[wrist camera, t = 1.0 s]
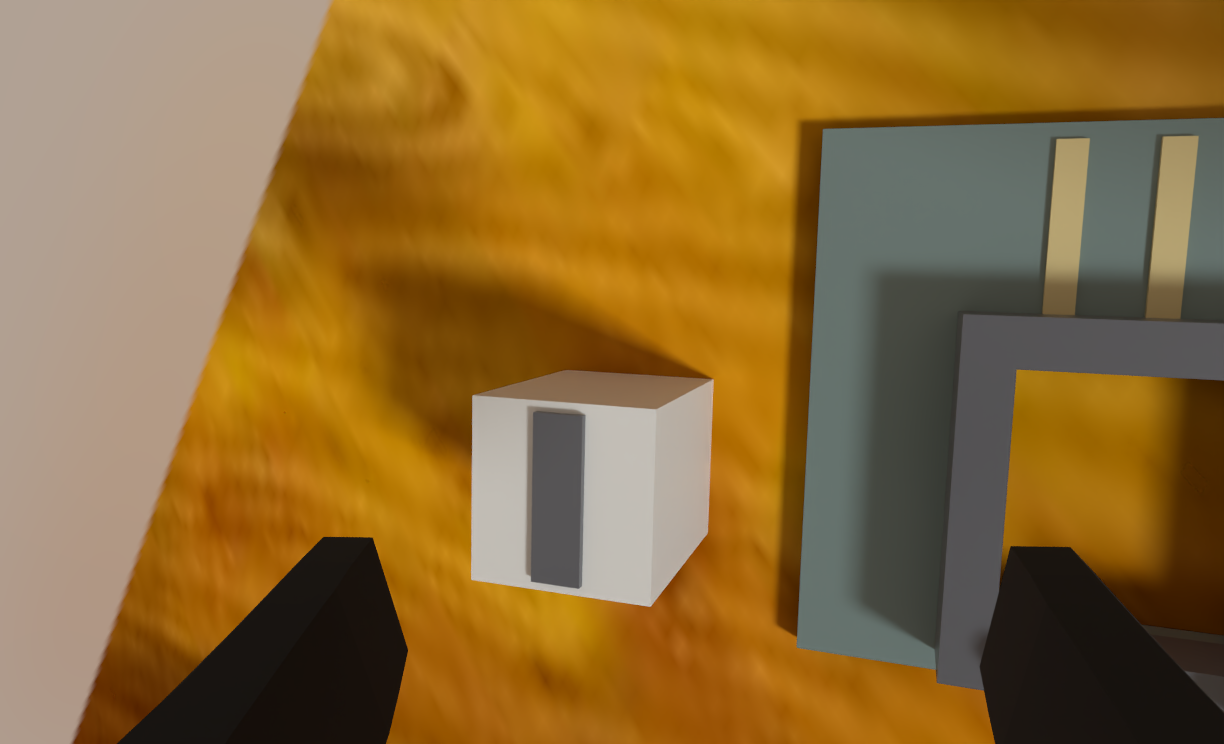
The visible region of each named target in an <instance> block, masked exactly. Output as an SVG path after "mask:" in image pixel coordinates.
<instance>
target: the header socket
mask: <svg viewBox="0 0 1224 744" xmlns="http://www.w3.org/2000/svg"><path fill="white" fill-rule="evenodd" d="M1016 369H1020V370H1039V371H1057V372H1076V373H1095V374H1113V375H1132V376H1151V377H1169V378H1188V379H1206V380H1224V118H1201V119H1165V120H1129V121H1093V122H1057V123H1021V124H985V125H949V126H913V127H877V128H841V129H823V139H822V158H821V178H820V198H819V217H818V237H817V257H816V276H815V296H814V316H813V335H812V355H811V375H810V395H809V414H808V434H807V454H806V473H805V493H804V513H803V532H802V552H801V572H800V591H799V611H798V631H797V648H802V649H808V650H815V651H821V652H827V653H834V654H840V655H847V656H853V657H859V658H866V659H872V660H878V661H885V662H891V663H897V664H904V665H910V666H916V667H923V668H929V669H935V670H936V676H937V683H941V684H947V685H953V686H959V687H965V688H971V689H978V690H984V687H983V682H982V677H981V672H980V667H979V666H980V663H981V659H982V655H983V651H984V647H985V643H986V640H987V636H988V632H989V628H990V624H991V620H992V617H993V613H994V609H995V605H996V601H997V597H998V594H999V583H1000V571H1001V558H1002V545H1003V533H1004V520H1005V508H1006V495H1007V482H1008V470H1009V457H1010V445H1011V432H1012V419H1013V407H1014V394H1015V381H1016ZM1142 626H1143V627H1144V628H1145V629H1146V630H1147V631H1148V632H1149V633H1150V634H1151V636H1152V637H1153V638H1154V639H1155V640H1156V641H1157V642H1158V643H1159V644H1160V645H1161V646H1162V647H1163V648H1164V650H1165V651H1166V652H1167V653H1168V654H1169V655H1170V656H1171V657H1172V658H1173V659H1174V660H1175V661H1176V662H1177V664H1178V665H1179V666H1180V667H1181V668H1182V669H1183V670H1184V671H1185V672H1186V673H1187V674H1188V675H1189V676H1190V677H1191V678H1192V679H1193V680H1194V681H1195V683H1196V684H1197V685H1198V686H1199V687H1200V688H1201V689H1202V690H1203V691H1204V692H1205V693H1206V694H1207V695H1208V696H1209V697H1210V698H1211V699H1212V700H1213V701H1214V702H1215V703H1216V704H1217V705H1218V706H1219V707H1220V708H1221V709H1222V710H1223V711H1224V636H1223V635H1216V634H1208V633H1200V632H1193V631H1185V630H1178V629H1170V628H1163V627H1155V626H1148V625H1142Z"/></svg>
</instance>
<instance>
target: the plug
mask: <svg viewBox="0 0 1224 744" xmlns="http://www.w3.org/2000/svg"><path fill="white" fill-rule="evenodd" d="M713 380H714V379H702V378H687V377H671V376H655V375H639V374H624V373H608V372H592V371H576V370H564V371H560V372H556V373H553V374H549V375H545V376H542V377H538V378H534V379H531V380H527V381H523V382H520V383H516V384H512V385H509V386H505V387H501V388H498V389H494V390H490V391H487V392H483V393H479V394H475V395H472V564H471V580H477V581H483V582H490V583H497V584H503V585H510V586H516V587H523V588H530V589H536V590H543V591H549V592H556V593H563V594H569V595H576V596H583V597H589V598H596V599H602V600H609V601H616V602H622V603H629V604H635V605H642V606H649V607H651V605H652V604H653V603H654V602H655V600H656V599H657V598H658V596H659V595H660V594H661V593H662V591H663V590H664V589H665V587H666V586H667V585H668V584H669V582H670V581H671V580H672V578H673V577H674V576H675V574H676V573H677V572H678V571H679V569H680V568H681V567H682V565H683V564H684V563H685V562H686V560H687V559H688V558H689V556H690V555H691V554H692V553H693V551H694V550H695V549H696V547H697V546H698V545H699V544H700V542H701V541H702V540H703V538H704V537H705V536H706V535H707V533H708V513H709V487H710V460H711V433H712V407H713Z"/></svg>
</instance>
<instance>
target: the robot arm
mask: <svg viewBox="0 0 1224 744" xmlns="http://www.w3.org/2000/svg"><path fill="white" fill-rule="evenodd" d="M407 653H408V649H407V645H406V642H405V639H404V636H403V633H402V630H401V626H400V623H399V620H398V617H397V614H396V610H395V607H394V604H393V601H392V598H391V595H390V591H389V588H388V585H387V582H386V579H385V576H384V572H383V569H382V566H381V563H380V560H379V556H378V553H377V550H376V547H375V544H374V541H373V538H364V537H323V538H322V539H321V540H320V541H319V542H318V543H317V544H316V545H315V546H314V547H313V548H312V549H311V550H310V551H309V552H308V553H307V554H306V555H305V556H304V557H303V558H302V559H301V560H300V561H299V562H298V563H297V564H296V565H295V566H294V567H293V568H292V570H291V571H290V572H289V573H288V574H287V575H286V576H285V577H284V578H283V579H282V580H281V581H280V582H279V583H278V584H277V585H276V586H275V587H274V588H273V589H272V590H271V591H270V592H269V594H268V595H267V596H266V597H265V598H264V599H263V600H262V601H261V602H260V603H259V604H258V605H257V606H256V607H255V608H254V609H253V610H252V611H251V612H250V613H249V614H248V615H247V616H246V617H245V618H244V620H243V621H242V622H241V623H240V624H239V625H238V626H237V627H236V628H235V629H234V630H233V631H232V632H231V633H230V634H229V635H228V636H227V637H226V638H225V639H224V640H223V641H222V642H221V643H220V644H219V645H218V646H217V647H216V648H215V649H214V650H213V651H212V652H211V653H210V654H209V655H208V656H207V657H206V658H205V659H204V660H203V661H202V662H201V663H200V664H199V665H198V666H197V667H196V668H195V669H194V670H193V671H192V672H191V673H190V674H189V675H188V676H187V677H186V678H185V679H184V680H183V681H182V682H181V683H180V684H179V685H178V686H177V687H176V688H175V689H174V690H173V691H172V692H171V693H170V694H169V695H168V696H167V697H166V698H165V699H164V700H163V701H162V702H161V703H160V704H159V705H158V706H157V707H156V708H155V709H154V710H152V711H151V712H150V713H149V714H148V715H147V716H146V717H145V718H144V719H143V720H142V721H141V722H140V723H139V724H137V725H136V726H135V727H134V728H133V729H132V730H131V731H130V732H129V733H128V734H127V735H126V736H125V737H124V738H122V739H121V740H120V741H119V742H118V743H117V744H386V741H387V738H388V735H389V732H390V728H391V724H392V719H393V715H394V711H395V707H396V703H397V699H398V694H399V690H400V685H401V681H402V676H403V671H404V667H405V662H406V657H407ZM979 667H980V672H981V677H982V682H983V687H984V692H985V697H986V702H987V707H988V712H989V717H990V722H991V726H992V731H993V735H994V740H995V744H1224V711H1223V710H1222V709H1221V708H1220V707H1219V706H1218V705H1217V704H1216V703H1215V702H1214V701H1213V700H1212V699H1211V698H1210V697H1209V696H1208V695H1207V694H1206V693H1205V692H1204V691H1203V690H1202V689H1201V688H1200V687H1199V686H1198V685H1197V684H1196V683H1195V681H1194V680H1193V679H1192V678H1191V677H1190V676H1189V675H1188V674H1187V673H1186V672H1185V671H1184V670H1183V669H1182V668H1181V667H1180V666H1179V665H1178V664H1177V662H1176V661H1175V660H1174V659H1173V658H1172V657H1171V656H1170V655H1169V654H1168V653H1167V652H1166V651H1165V650H1164V648H1163V647H1162V646H1161V645H1160V644H1159V643H1158V642H1157V641H1156V640H1155V639H1154V638H1153V637H1152V636H1151V634H1150V633H1149V632H1148V631H1147V630H1146V629H1145V628H1144V627H1143V626H1142V625H1141V624H1140V623H1139V621H1138V620H1137V619H1136V618H1135V617H1134V616H1133V615H1132V614H1131V613H1130V612H1129V610H1128V609H1127V608H1126V607H1125V606H1124V605H1123V604H1122V603H1121V602H1120V601H1119V599H1118V598H1117V597H1116V596H1115V595H1114V594H1113V593H1112V592H1111V591H1110V590H1109V588H1108V587H1107V586H1106V585H1105V584H1104V583H1103V582H1102V581H1101V580H1100V579H1099V577H1098V576H1097V575H1096V574H1095V573H1094V572H1093V571H1092V570H1091V569H1090V568H1089V566H1088V565H1087V564H1086V563H1085V562H1084V561H1083V560H1082V559H1081V558H1080V557H1079V556H1078V555H1077V554H1076V553H1075V552H1074V551H1073V550H1072V549H1071V548H1070V547H1020V546H1011V548H1010V551H1009V555H1008V559H1007V563H1006V567H1005V571H1004V574H1003V578H1002V582H1001V586H1000V590H999V594H998V597H997V601H996V605H995V609H994V613H993V617H992V620H991V624H990V628H989V632H988V636H987V640H986V643H985V647H984V651H983V655H982V659H981V663H980V666H979Z"/></svg>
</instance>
